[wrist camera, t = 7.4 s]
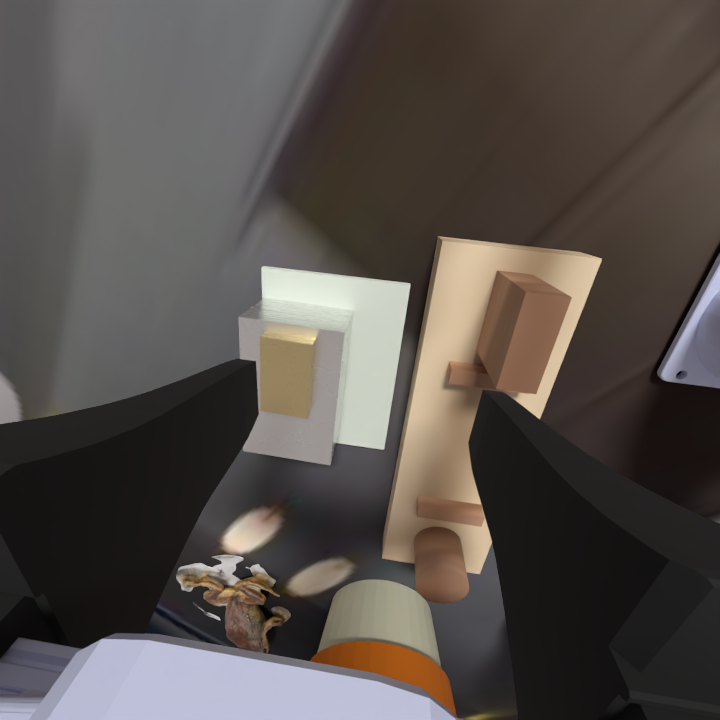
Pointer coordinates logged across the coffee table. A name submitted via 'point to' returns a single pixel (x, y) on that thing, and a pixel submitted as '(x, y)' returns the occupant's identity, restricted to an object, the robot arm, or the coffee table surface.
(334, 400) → the brass-inlaid steel block
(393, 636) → the reusable coffee cup
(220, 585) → the frog figurine
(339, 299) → the felt pad
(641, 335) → the coffee table surface
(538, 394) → the hand plane
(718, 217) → the coffee table surface
